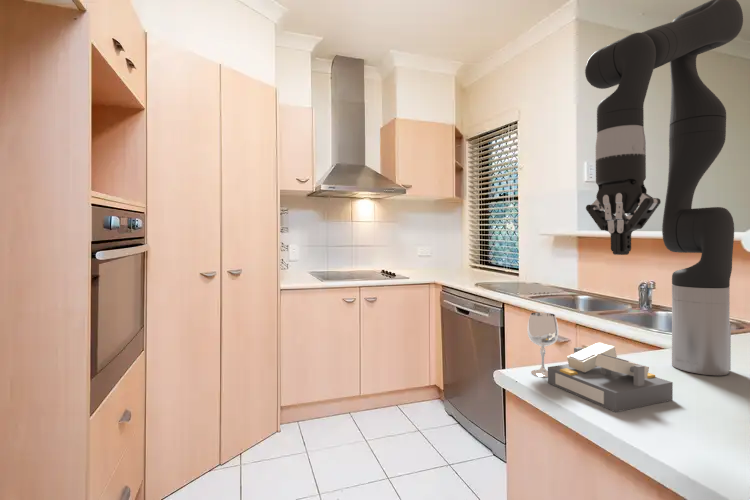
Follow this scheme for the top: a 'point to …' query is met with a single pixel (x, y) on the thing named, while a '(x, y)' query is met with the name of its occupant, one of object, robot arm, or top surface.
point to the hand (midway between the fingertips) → (620, 254)
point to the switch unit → (612, 386)
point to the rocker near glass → (589, 356)
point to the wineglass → (542, 335)
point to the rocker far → (618, 365)
